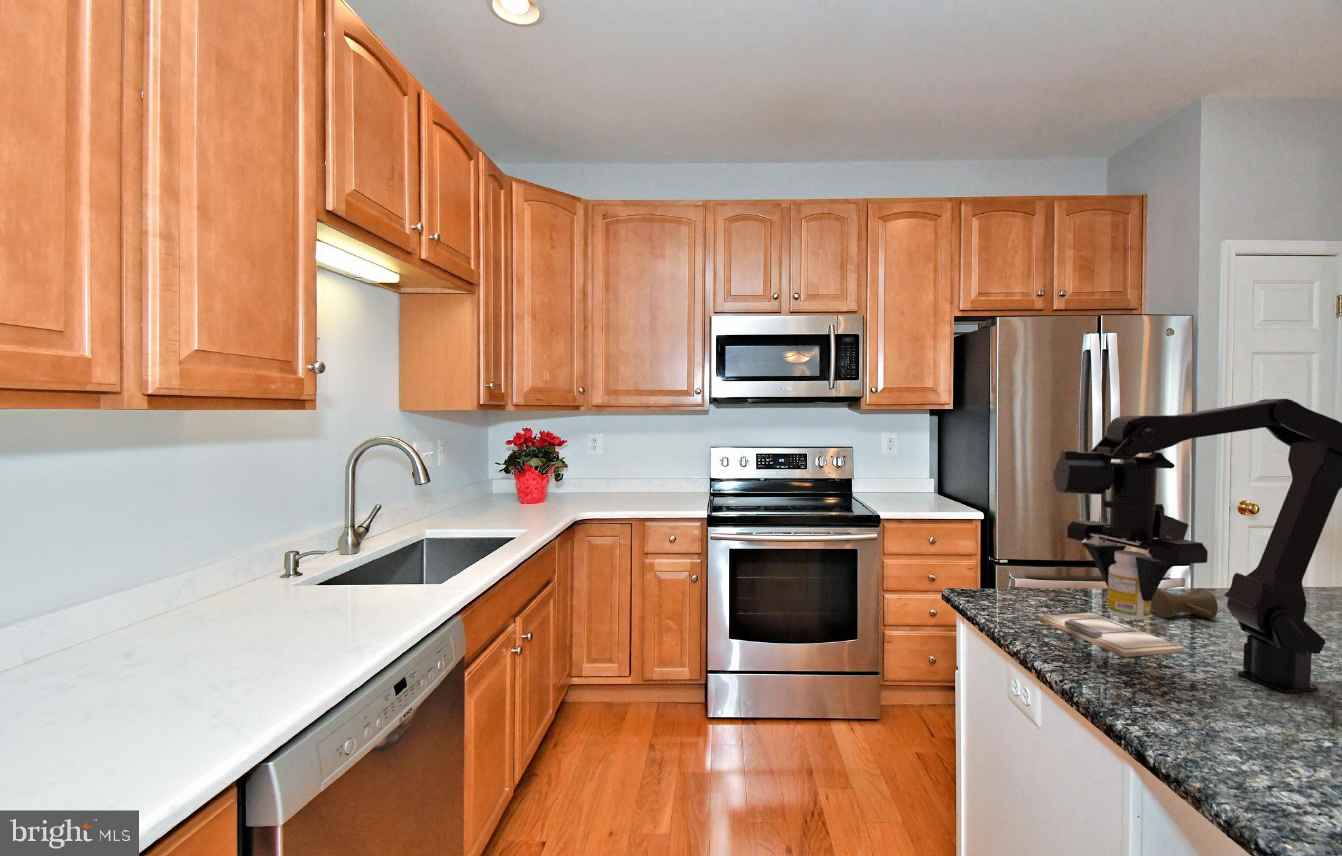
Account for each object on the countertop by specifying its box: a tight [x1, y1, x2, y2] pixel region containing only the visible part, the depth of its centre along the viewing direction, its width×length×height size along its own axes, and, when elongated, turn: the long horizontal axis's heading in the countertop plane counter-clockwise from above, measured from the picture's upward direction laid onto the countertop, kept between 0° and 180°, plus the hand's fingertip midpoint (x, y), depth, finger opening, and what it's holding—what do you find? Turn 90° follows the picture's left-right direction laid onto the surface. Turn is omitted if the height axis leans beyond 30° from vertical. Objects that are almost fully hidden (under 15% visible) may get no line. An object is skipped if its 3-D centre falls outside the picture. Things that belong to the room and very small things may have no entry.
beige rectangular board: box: [1038, 612, 1185, 658], centre depth 110 cm, size 18×12×2 cm, turn 11°
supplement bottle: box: [1107, 550, 1152, 621], centre depth 95 cm, size 5×5×10 cm
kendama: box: [1151, 587, 1219, 620], centre depth 125 cm, size 6×10×20 cm
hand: (1129, 595), depth 95 cm, fingers closed on supplement bottle, 5 cm apart
